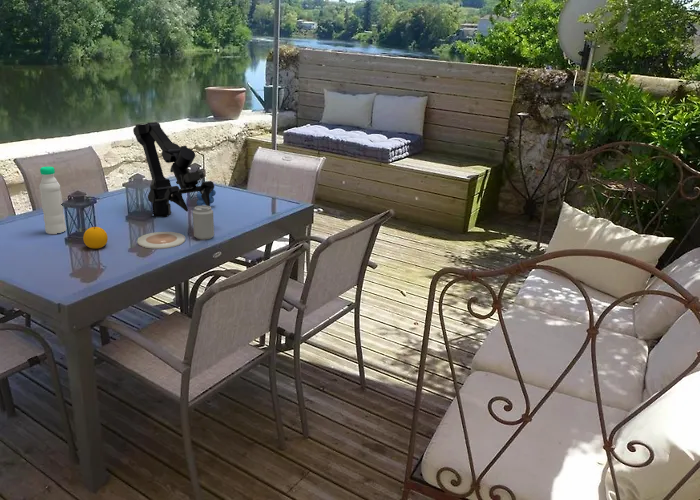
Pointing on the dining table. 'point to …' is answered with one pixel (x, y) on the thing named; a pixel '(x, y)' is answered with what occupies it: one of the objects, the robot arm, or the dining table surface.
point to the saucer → (161, 240)
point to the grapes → (201, 201)
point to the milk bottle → (51, 202)
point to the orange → (95, 237)
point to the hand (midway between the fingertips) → (198, 208)
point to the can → (203, 222)
